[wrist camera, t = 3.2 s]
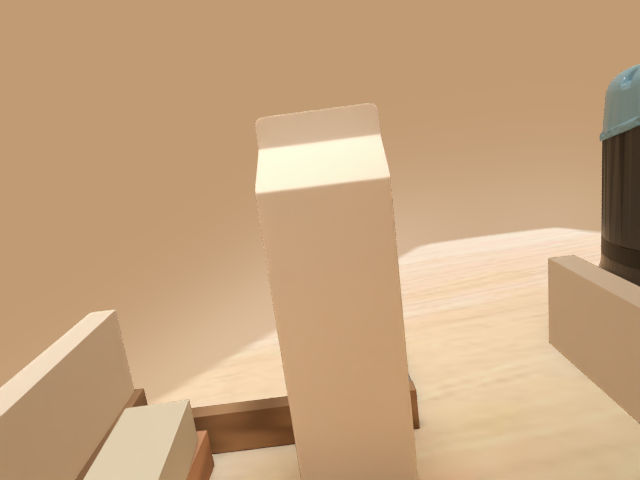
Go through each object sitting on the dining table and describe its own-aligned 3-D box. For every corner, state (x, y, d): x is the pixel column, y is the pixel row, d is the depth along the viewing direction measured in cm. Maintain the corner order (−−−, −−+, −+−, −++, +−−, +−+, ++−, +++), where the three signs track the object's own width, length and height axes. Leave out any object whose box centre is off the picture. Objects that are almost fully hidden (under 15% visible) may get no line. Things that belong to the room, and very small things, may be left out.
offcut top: (198, 440, 31) (189, 399, 30) (170, 530, 24) (157, 480, 23) (136, 449, 31) (125, 408, 30) (90, 542, 24) (75, 492, 23)
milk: (315, 465, 31) (261, 119, 26) (408, 456, 31) (372, 104, 26) (310, 545, 25) (239, 117, 20) (425, 535, 25) (383, 98, 20)
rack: (415, 417, 34) (410, 355, 33) (480, 597, 21) (474, 504, 20) (142, 451, 35) (126, 390, 33) (40, 649, 22) (9, 561, 20)
